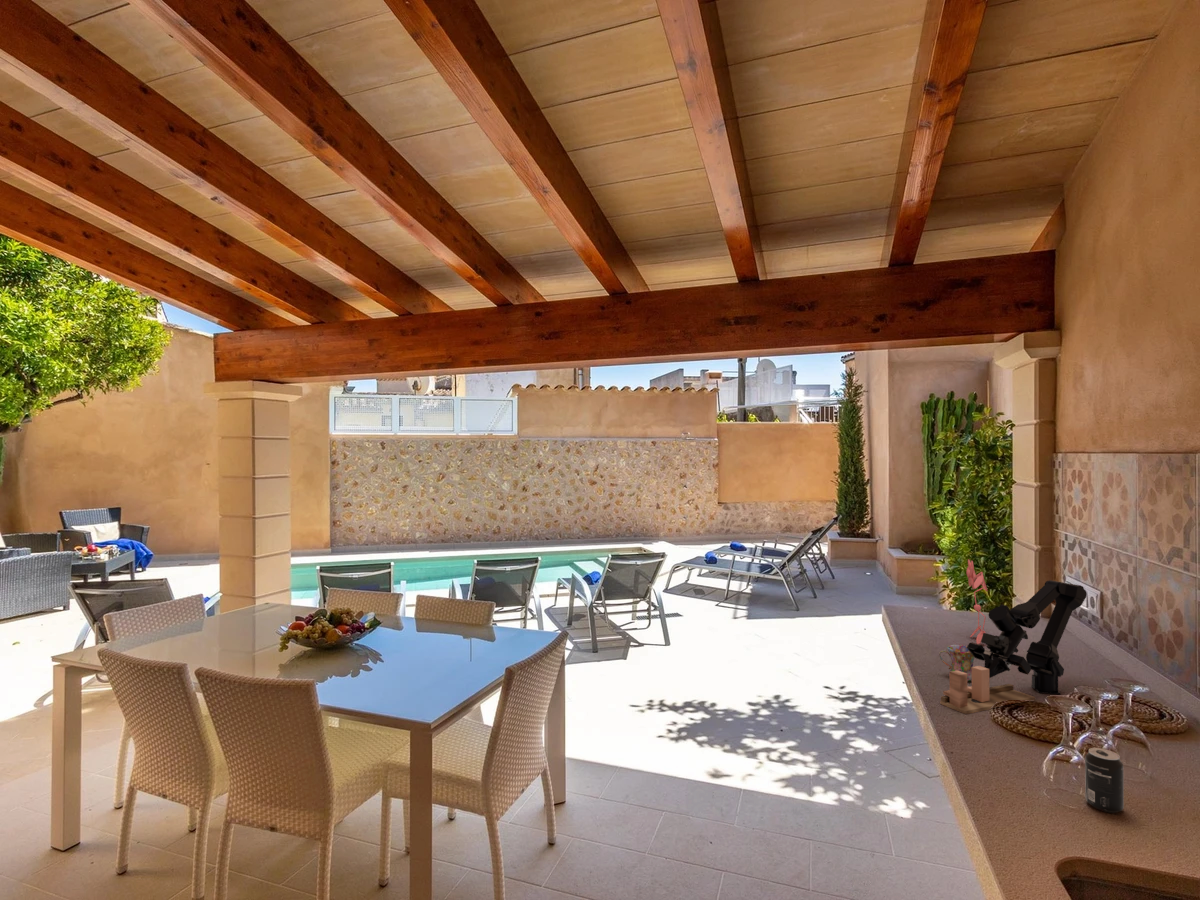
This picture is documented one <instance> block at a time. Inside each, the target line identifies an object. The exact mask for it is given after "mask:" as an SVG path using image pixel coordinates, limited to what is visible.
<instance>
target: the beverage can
mask: <svg viewBox="0 0 1200 900" xmlns="http://www.w3.org/2000/svg"><path fill="white" fill-rule="evenodd" d="M1120 757H1121V756H1120V755H1119V754H1118V753H1116V752H1114V751H1113V750H1112V751H1111V750H1109V749H1105V748H1099V747H1092V748H1088V753H1086V754H1085V757H1084V783H1085V784H1084V785H1085V786H1084V789H1085V790H1084V791H1085V792H1084V794H1085V796H1084V797H1085V800H1086V802H1087V803H1088V804H1089V805H1091V806H1092V807H1093V808H1094V809H1097V810H1099V811H1101V812H1104V813H1109V814H1110V813H1111V814H1115V813H1118V812H1121V811H1123V810H1124V809H1125V808H1124V806H1125V805H1124V803H1125V802H1124V799H1125V798H1124V797H1125V794H1124V791H1125V789H1124V785H1125V784H1124V783H1125V782H1124V781H1125V780H1124V779H1125V778H1124V770H1125V769H1124V768H1125V767H1124V763H1123V762H1122V761H1121V758H1120Z"/></svg>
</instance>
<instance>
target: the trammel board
mask: <svg viewBox="0 0 1200 900" xmlns="http://www.w3.org/2000/svg"><path fill="white" fill-rule="evenodd" d="M949 675H950V676H949ZM948 676H949V689H948V690H943V691H942V694H943V695H941V696H940V701H939V702H940V705H942V706H944V707H947V708H949V709H952V710H954V711H957V712H960V713H961V714H963V715H970V714H973V713H979V712H985V711H989V710H992V709H991V707H992V706H993V705H994V704H995V703H996V702H1001V701H1006V700H1034V701H1036V697H1035V696H1033V695H1031V694H1027V693H1024V692H1021V691H1018V690H1015V689H1014V684H1011V683H1006V684H1001V685H995V686H989V700H990V701H985V702H980V701H977V700H975V699H972V693H971V692H968V691H967V687H968V681H967V673H964V672H961V671H958V670H956V671H949V672H948Z"/></svg>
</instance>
